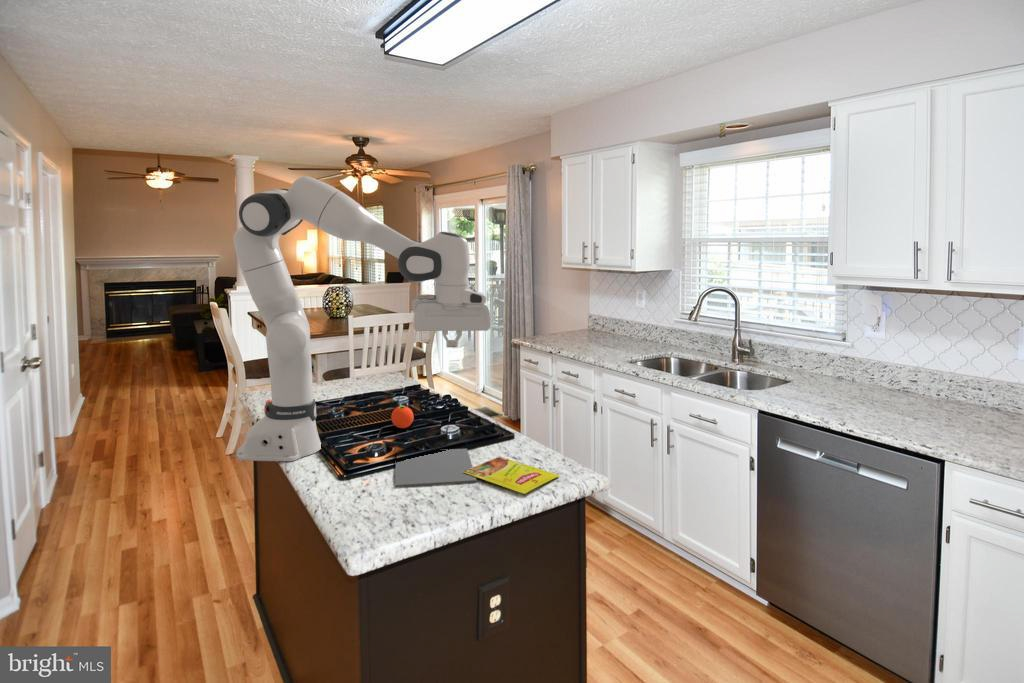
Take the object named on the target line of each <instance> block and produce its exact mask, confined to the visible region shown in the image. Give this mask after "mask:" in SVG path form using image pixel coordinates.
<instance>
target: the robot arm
mask: <svg viewBox="0 0 1024 683" xmlns="http://www.w3.org/2000/svg"><path fill="white" fill-rule="evenodd" d="M238 218H239V221H240V224H241V225H242V226H241V227H240V228H238V229H237V230H236V231H235V232H234V234H233V244H234V250H235V254H236V257H237V261H238V262H237V263H238V264H239V268H240V270H241V273H242V275H243V278H244V281H245V283H246V286H247V289H248V291H249V294H250V296H251V299H252V301H253V302H254V304H255V306H256V309H257V311H258V312H259V314H260V316H261V319H262V322H263V323H264V325H265V328H266V335H265V343H266V352H267V354H266V355H267V361H268V362H267V363H268V369H269V381H270V391H271V392H270V394H271V395H270V396H271V399H267V400H266V402H265V403H264V404H265V405H264V411H263V412H264V416H263V417H262V418H260V420H258V421H257V422H255V424H253V425H252V426H251V427H250V428H249V429H248V430H247V432H246V434H245V438H244V443H243V444H241V445H240V446H239V447H238V448H237V450H236V452H235V453H236V459H237V460H238V461H246V462H250V461H252V462H253V461H255V462H293V461H296V460H299V459H301V458H303V457H307V456H311V455H312V454H315V453H317V452H319V451H320V450H321V449H322V448H321V444H322V442H321V439H320V436H319V432H318V428H317V422H316V419H317V403H316V400H315V398H314V385H313V383H314V382H313V367H312V366H313V365H312V364H313V363H312V350H311V349H312V348H311V327H310V322H309V320H308V318H307V315H306V313H305V311H304V307H303V305H302V303H301V300H300V298H299V295H298V293H297V291H296V288H295V286H294V284H293V280H292V278H291V275H290V272H289V270H288V267H287V264H286V260H285V259H284V256H283V254H282V251H281V248H280V245H279V244H280V243H279V241H280V237H281V236H285V235H287V234H288V233H290V232H291V231H292V230H295V229H296V228H297V227H298V226H300V224H301V223H303V221H305V222H307V223H310V224H311V225H313V226H314V227H316V228H317V229H318V230H321V231H323V232H325V233H326V234H329V235H331V236H333V237H336V238H338V239H341V240H344V241H351V242H361V243H366V244H368V245H369V244H370V245H373V246H375V247H377V248H379V249H380V250H382V251H384V252H386V253H387V254H389V255H392V256H393V257H395V258H396V259H397V268H398V271H399V273H400V275H402V276H403V278H404V279H406V280H407V281H410V282H412V283H424V282H426V281H430V280H431V281H432V280H433V281H434V282H435V287H434V288H435V289H434V290H435V292H434V293H435V294H429V295H423V294H420V295H419V294H418V295H417V296H415V297H414V298H413V299H412V301H411V308H412V311H413V312H414V315H413V329H414V330H415V331H416V332H442V336H443V338H444V340H445V341H446V343H445V344H446V346H445V347H446V348H447V349H448V348H458V347H459V340H460V339H461V338H462V335H463V332H464V331H465V332H466V331H467V332H469V331H470V332H471V331H472V332H473V331H474V332H475V331H477V332H479V331H481V332H482V331H485V332H487V331H489V330H490V328H491V325H492V324H491V315H490V314H491V313H490V309H489V307H488V305H487V304H486V303H487V296H486V294H485V293H483V292H481V291H478V290H474V289H470V281H469V271H470V260H471V259H470V247H469V242H468V240H467V239H466V238H465V237H464V235H461V234H458V233H455V232H447V231H439V232H438V233H436V235H434V236H432V237H431V238H429V239H426V240H423V241H418V240H414V239H411V238H409V237H408V236H406V235H404V234H402V233H401V232H399V231H398V230H396V229H394V228H392V227H390V226H388V225H387V224H385V223H384V222H382V221H381V220H379V219H378V218H377V217H376V216H375V215H373V214H372V213H370V211H368V210H367V209H366V208H365V207H363V206H362V205H361V204H360V203H358V201H356V200H355V199H353V198H352V197H351V196H349V195H347V194H346V193H345V192H343V191H341V190H340V189H337V188H336V187H334V186H332V185H330V184H328V183H326V182H324V181H322V180H319V179H317V178H314V177H312V176H305V175H304V176H300V177H298V178H297V179H296V180H294V181H293V182H292V183H291V185H290V187H289V188H288V189H287V188H277V189H275V188H274V189H267V190H264V191H262V192H257V193H254V194H251V195H249V196H248V197H246V198H245V199H244V200H243V201H242V203H241V204H240V206H239V209H238ZM449 332H455V334H456V337H455V339H449V338H448V335H449Z"/></svg>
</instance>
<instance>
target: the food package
mask: <svg viewBox="0 0 1024 683" xmlns="http://www.w3.org/2000/svg"><path fill="white" fill-rule="evenodd" d="M472 467H473V466H472ZM463 473H466V474H469V475H472V476H474V477H476V479H481V480H484V481H486V482H488V483H491V484H494V485H498V486H501V487H503V488H506V489H509V490H511V491H515V492H517V493H520V494H527V493H529V492H530V491H533V490H535V489H536V488H539V487H540V486H542V485H544V484H546V483H549V482H550V481H552V480H553V479H556V478H558V477H560V476H561V475H560V474H557V473H553V472H550V471H547V470H543V469H540V468H537V467H535V466H531V465H528V464H525V463H522V462H519V461H515V460H512V459H509V458H506V457H503V456H498V457H495V458H492V459H490V460H488V461H485V462H483V463H481V464H478V465H476V466H474V467H473V468H471V469H468V470H466V471H464V472H463Z"/></svg>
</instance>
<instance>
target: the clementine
mask: <svg viewBox="0 0 1024 683" xmlns="http://www.w3.org/2000/svg"><path fill="white" fill-rule="evenodd" d="M390 419H391V422H392V424H393V426H395V427H396V428H399V429H406V428H409V427H410V426H411V424H412V423H413V422H414V419H415V418H414V413H413V410H412V409H411V408H409V407H408V406H405V405H399V406H398V407H396V408H395V409H394V410H393V411H392V413H391V418H390Z"/></svg>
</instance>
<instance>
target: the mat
mask: <svg viewBox="0 0 1024 683" xmlns="http://www.w3.org/2000/svg"><path fill="white" fill-rule="evenodd" d="M445 450H446V451H442V452H438V453H434V454H428V455H424V456H419V457H415V458H411V459H406V460H404V461H401V462H398V463H396V462H395V482H394V483H395V488H406V487H407V488H408V487H422V486H423V487H425V486H439V485H452V484H453V485H454V484H456V485H457V484H468V483H469V484H472V483H477V477H474V476H472V475H469V474H466V473H463V472H464V471H466V470H468V469H471V468H473V464H472V461H471V457H470V454H469V450H468V448H455V449H454V448H451V449H450V448H449V450H448V449H445Z"/></svg>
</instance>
